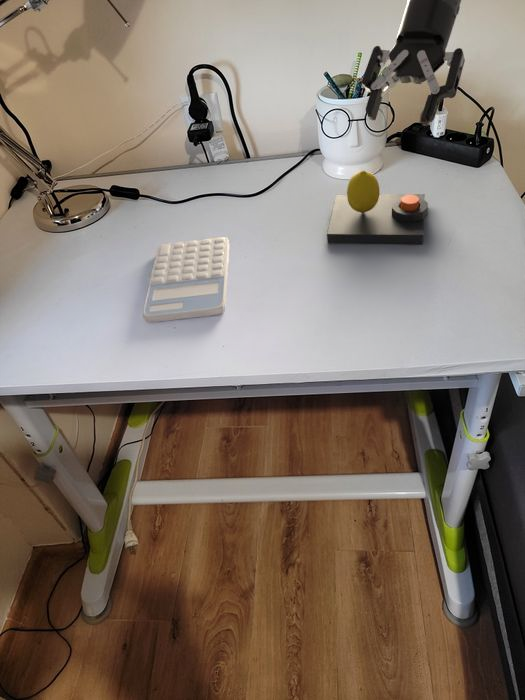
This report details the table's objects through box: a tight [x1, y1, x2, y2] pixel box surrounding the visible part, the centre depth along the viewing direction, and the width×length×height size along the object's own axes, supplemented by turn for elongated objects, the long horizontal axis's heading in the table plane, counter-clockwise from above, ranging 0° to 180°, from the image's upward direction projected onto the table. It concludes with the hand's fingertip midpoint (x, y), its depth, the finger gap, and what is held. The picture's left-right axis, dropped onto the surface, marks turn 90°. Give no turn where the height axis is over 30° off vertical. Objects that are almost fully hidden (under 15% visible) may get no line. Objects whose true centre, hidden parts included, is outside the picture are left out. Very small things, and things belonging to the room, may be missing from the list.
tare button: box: [401, 195, 419, 211], centre depth 87 cm, size 3×3×2 cm
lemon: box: [346, 169, 380, 214], centre depth 88 cm, size 6×6×8 cm
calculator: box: [142, 236, 230, 323], centre depth 86 cm, size 13×20×2 cm, turn 0°
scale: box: [326, 193, 429, 245], centre depth 90 cm, size 16×13×4 cm
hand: (396, 120), depth 77 cm, fingers open, 8 cm apart
